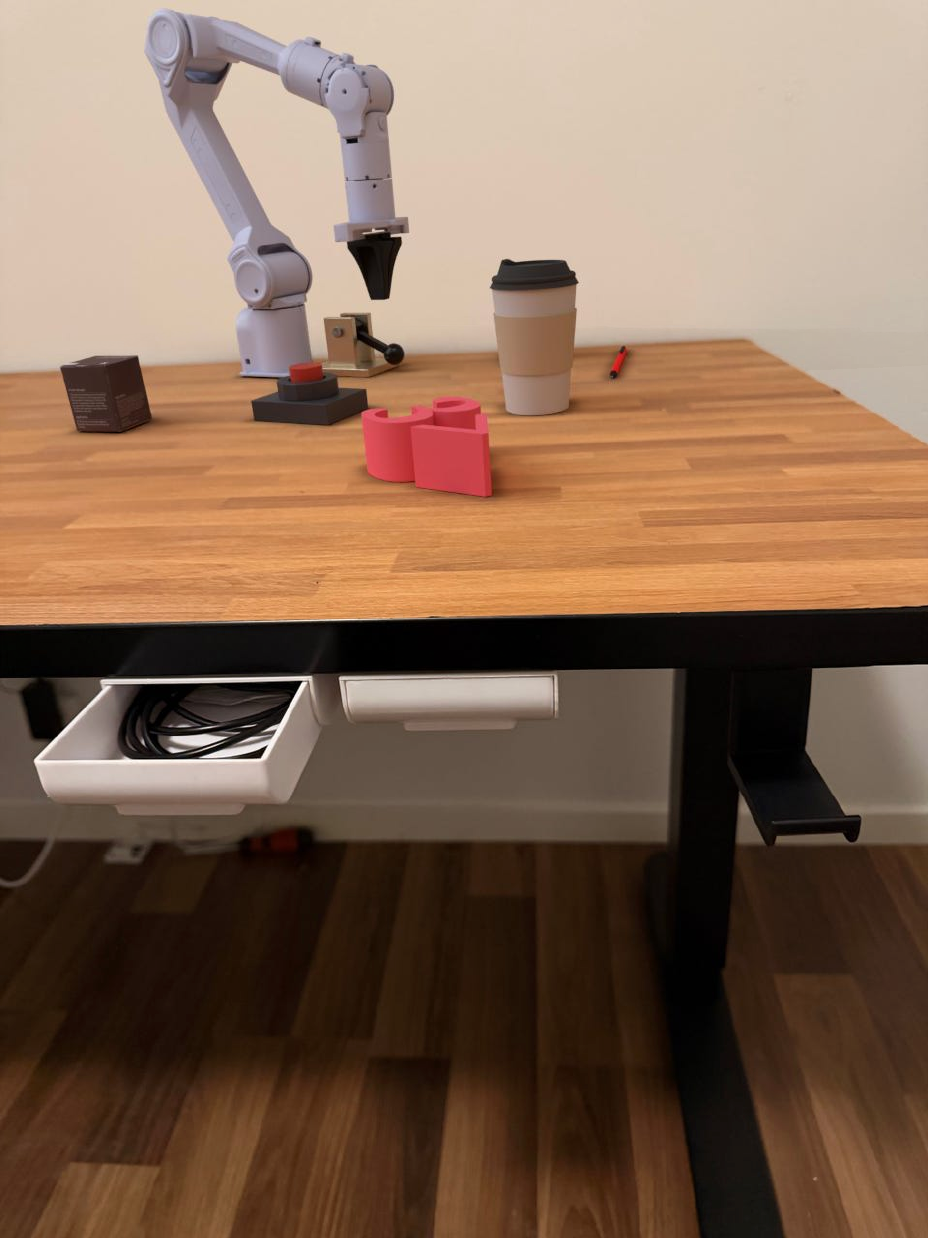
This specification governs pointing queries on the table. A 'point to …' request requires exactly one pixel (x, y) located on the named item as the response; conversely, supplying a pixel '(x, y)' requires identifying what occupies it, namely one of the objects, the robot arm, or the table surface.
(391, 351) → the black lever handle
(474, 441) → the letters
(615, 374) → the pen
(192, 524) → the table surface
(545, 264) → the coffee cup
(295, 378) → the button
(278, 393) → the block
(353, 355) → the lever bracket
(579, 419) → the table surface
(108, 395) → the box
